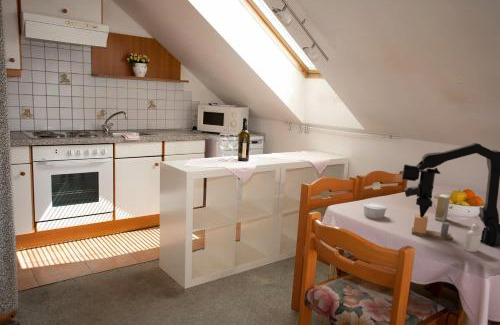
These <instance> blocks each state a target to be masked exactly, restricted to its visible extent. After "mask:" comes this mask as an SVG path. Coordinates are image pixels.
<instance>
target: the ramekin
mask: <svg viewBox="0 0 500 325" xmlns="http://www.w3.org/2000/svg"><path fill="white" fill-rule="evenodd" d="M362 206H363V215H364V216H365V217H368V218H370V219H376V218H377V219H383V218H384V217H385V214H386V211H387V206H386V205H384V204H382V203H377V202H376V203H375V202H364V203H363V205H362ZM377 219H376V220H377Z"/></svg>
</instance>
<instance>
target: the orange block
mask: <svg viewBox="0 0 500 325" xmlns="http://www.w3.org/2000/svg"><path fill="white" fill-rule="evenodd" d="M428 219H429V217H428V215H424V216H423V217H420V214H417V213H415V214H414V221H413V232H419V233H424V234H426V230H427V228H428Z"/></svg>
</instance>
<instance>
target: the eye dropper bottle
mask: <svg viewBox="0 0 500 325" xmlns="http://www.w3.org/2000/svg"><path fill="white" fill-rule="evenodd" d="M481 236H482V231H481V232H480V226H479V224H478V222H477V221H475V222H474V224H472V225H471V229H470V230H469V231H468V232H467V233H466V238H465V244H464V250H465V251H467V252H468V253H476V252H479V250H480V246H481V245H480V244H481V242H480V240H481Z"/></svg>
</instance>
